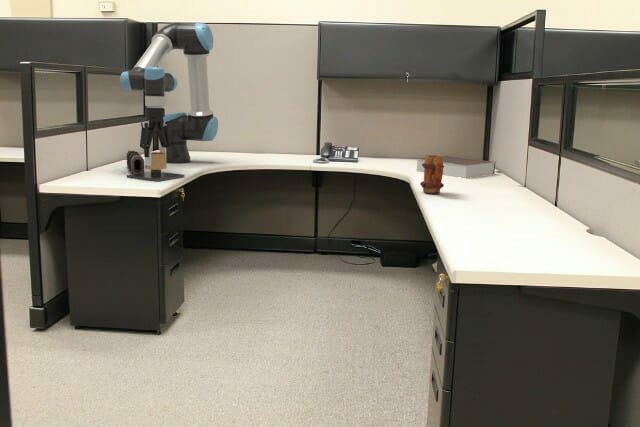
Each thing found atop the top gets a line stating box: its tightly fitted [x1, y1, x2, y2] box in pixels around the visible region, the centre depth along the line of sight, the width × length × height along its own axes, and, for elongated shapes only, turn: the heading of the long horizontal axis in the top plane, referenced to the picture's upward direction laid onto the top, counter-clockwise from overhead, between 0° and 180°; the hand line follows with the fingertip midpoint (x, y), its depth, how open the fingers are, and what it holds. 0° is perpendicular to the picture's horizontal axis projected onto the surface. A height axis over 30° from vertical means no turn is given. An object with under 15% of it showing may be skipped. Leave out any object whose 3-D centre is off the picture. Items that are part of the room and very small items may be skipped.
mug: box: [420, 154, 445, 194], centre depth 244 cm, size 15×8×15 cm, turn 5°
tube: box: [126, 150, 145, 174], centre depth 279 cm, size 11×7×30 cm
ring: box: [144, 151, 167, 170], centre depth 261 cm, size 8×8×6 cm
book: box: [416, 155, 496, 179], centre depth 308 cm, size 24×28×6 cm
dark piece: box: [126, 169, 186, 183], centre depth 262 cm, size 16×16×8 cm
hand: (155, 164), depth 262 cm, fingers closed on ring, 8 cm apart
